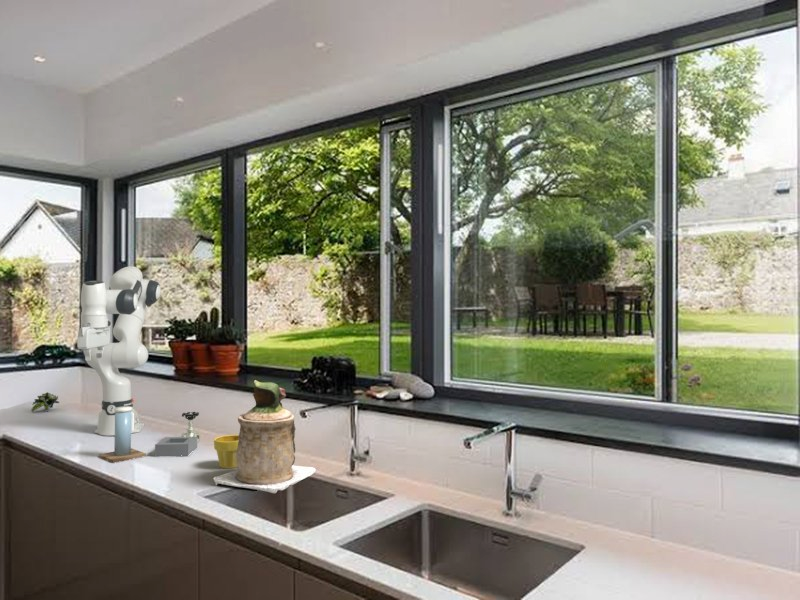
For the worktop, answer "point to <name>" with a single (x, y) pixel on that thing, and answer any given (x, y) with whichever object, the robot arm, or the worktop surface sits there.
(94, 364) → the robot arm
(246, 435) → the cookie jar
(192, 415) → the valve
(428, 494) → the worktop surface
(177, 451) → the housing
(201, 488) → the worktop surface
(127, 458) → the board
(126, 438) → the blue bottle
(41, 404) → the green leafy plant
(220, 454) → the plant pot
